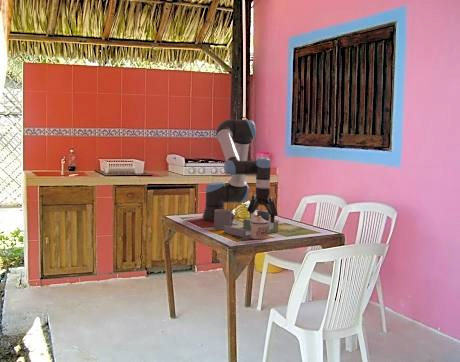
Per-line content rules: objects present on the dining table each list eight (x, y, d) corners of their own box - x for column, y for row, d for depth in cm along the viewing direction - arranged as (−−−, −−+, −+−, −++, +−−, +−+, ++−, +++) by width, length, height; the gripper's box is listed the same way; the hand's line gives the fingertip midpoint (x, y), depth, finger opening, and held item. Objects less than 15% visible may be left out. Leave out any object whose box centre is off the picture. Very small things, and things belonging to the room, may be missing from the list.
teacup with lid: (256, 240, 289) (257, 218, 288) (247, 237, 297) (247, 215, 295) (275, 238, 295) (276, 216, 294) (265, 235, 303) (266, 214, 302)
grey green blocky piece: (223, 232, 307) (224, 212, 306) (257, 227, 325) (258, 208, 324) (244, 237, 295) (244, 217, 294) (277, 231, 314) (278, 212, 313)
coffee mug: (219, 229, 315) (219, 212, 314) (210, 226, 323) (211, 209, 322) (239, 227, 322) (239, 210, 321) (230, 225, 330) (231, 208, 329)
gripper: (241, 185, 300) (240, 224, 302) (275, 190, 281) (274, 231, 283) (251, 184, 305) (250, 223, 307) (285, 189, 287) (283, 229, 289)
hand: (261, 227), depth 295 cm, fingers open, 13 cm apart
